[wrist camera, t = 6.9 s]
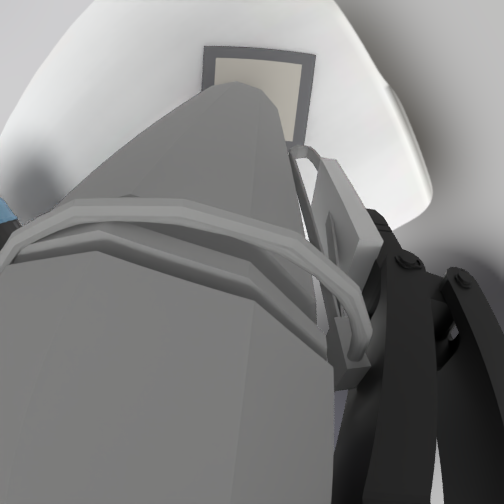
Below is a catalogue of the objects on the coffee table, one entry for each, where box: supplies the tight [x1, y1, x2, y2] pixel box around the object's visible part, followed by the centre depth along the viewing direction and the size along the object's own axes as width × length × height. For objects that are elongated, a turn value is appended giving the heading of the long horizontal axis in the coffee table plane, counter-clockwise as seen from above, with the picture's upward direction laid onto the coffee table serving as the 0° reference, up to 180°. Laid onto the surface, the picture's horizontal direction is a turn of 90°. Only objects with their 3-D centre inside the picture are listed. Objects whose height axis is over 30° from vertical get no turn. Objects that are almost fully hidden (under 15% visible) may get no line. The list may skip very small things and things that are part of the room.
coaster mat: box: [202, 46, 316, 152], centre depth 33 cm, size 13×13×1 cm
